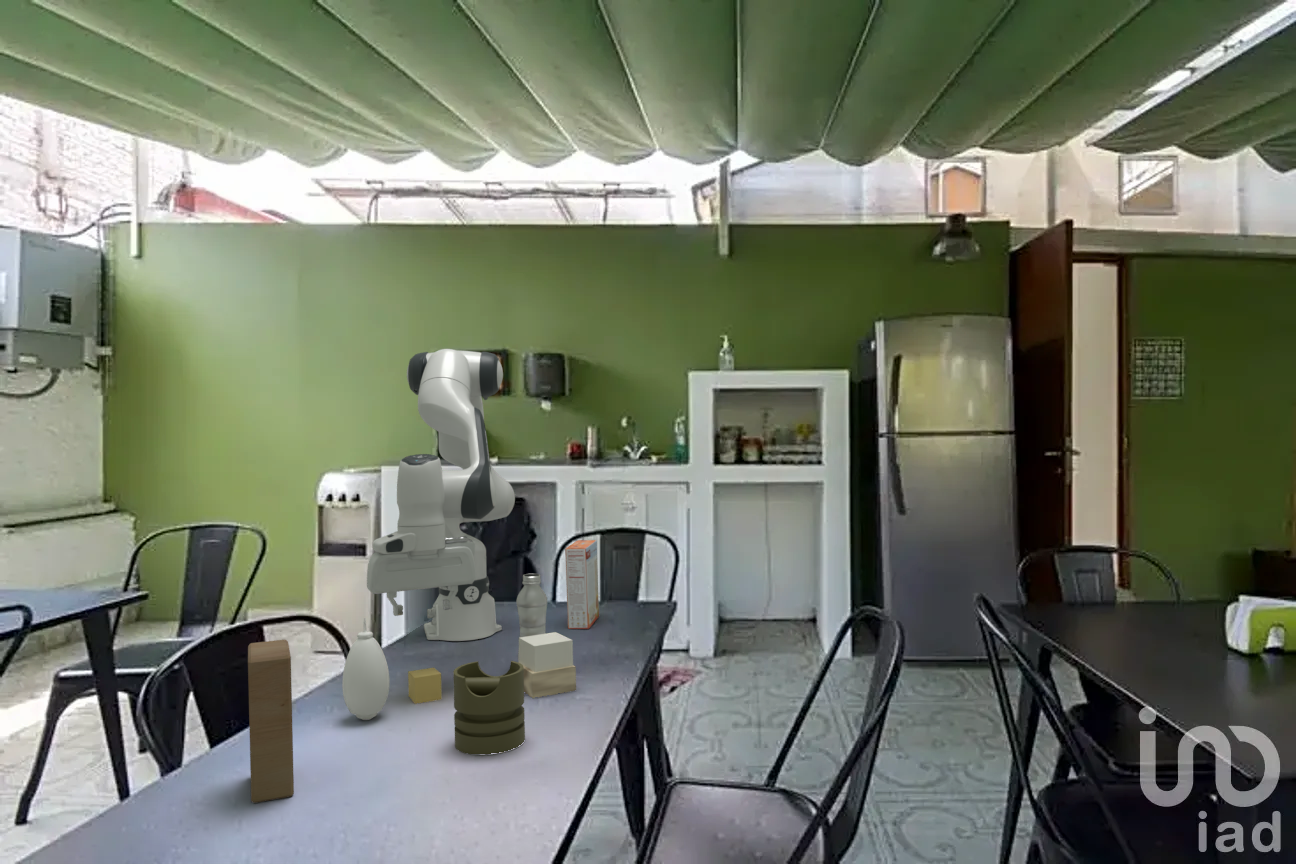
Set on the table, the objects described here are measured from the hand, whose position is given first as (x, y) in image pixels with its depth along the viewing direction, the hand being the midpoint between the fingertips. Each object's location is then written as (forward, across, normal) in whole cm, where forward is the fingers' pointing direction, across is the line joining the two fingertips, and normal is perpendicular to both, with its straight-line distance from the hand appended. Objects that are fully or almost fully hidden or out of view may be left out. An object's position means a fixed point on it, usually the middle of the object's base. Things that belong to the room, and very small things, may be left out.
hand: (423, 612), depth 166 cm
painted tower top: (+12, -22, +6) cm, 26 cm away
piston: (+17, -3, +29) cm, 33 cm away
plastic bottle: (+16, -25, -7) cm, 31 cm away
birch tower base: (+17, -22, +6) cm, 29 cm away
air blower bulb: (+17, +12, +6) cm, 21 cm away
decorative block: (+17, +30, +28) cm, 45 cm away
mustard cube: (+17, 0, 0) cm, 17 cm away
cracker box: (+16, -52, -40) cm, 68 cm away
